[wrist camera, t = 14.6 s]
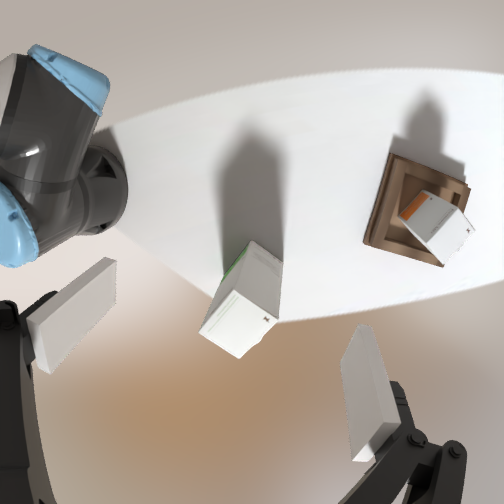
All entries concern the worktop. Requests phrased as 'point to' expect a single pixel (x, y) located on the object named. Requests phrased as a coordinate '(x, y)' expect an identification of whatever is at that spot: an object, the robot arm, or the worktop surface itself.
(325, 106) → the worktop surface
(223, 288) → the skincare box
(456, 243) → the skincare box
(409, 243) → the brown square tray
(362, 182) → the worktop surface
